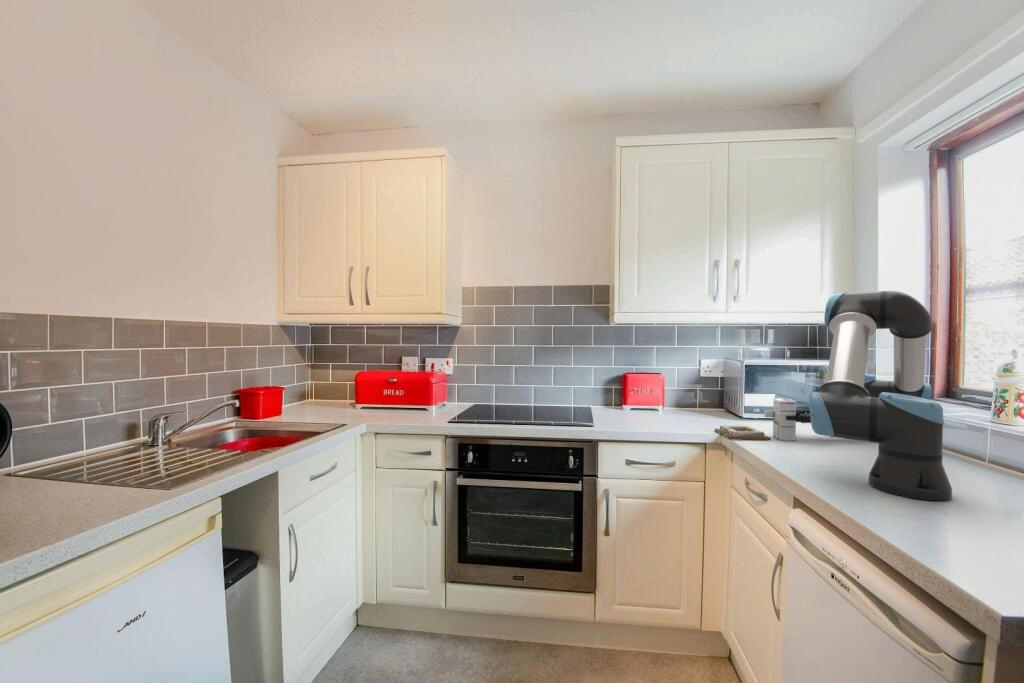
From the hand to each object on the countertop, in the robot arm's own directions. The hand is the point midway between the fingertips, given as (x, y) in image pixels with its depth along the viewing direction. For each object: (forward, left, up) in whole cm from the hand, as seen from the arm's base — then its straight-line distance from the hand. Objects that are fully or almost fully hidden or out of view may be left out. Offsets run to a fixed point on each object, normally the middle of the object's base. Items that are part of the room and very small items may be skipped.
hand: (770, 415), depth 160 cm
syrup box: (+4, -3, -9) cm, 10 cm away
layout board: (-6, +7, -9) cm, 13 cm away
